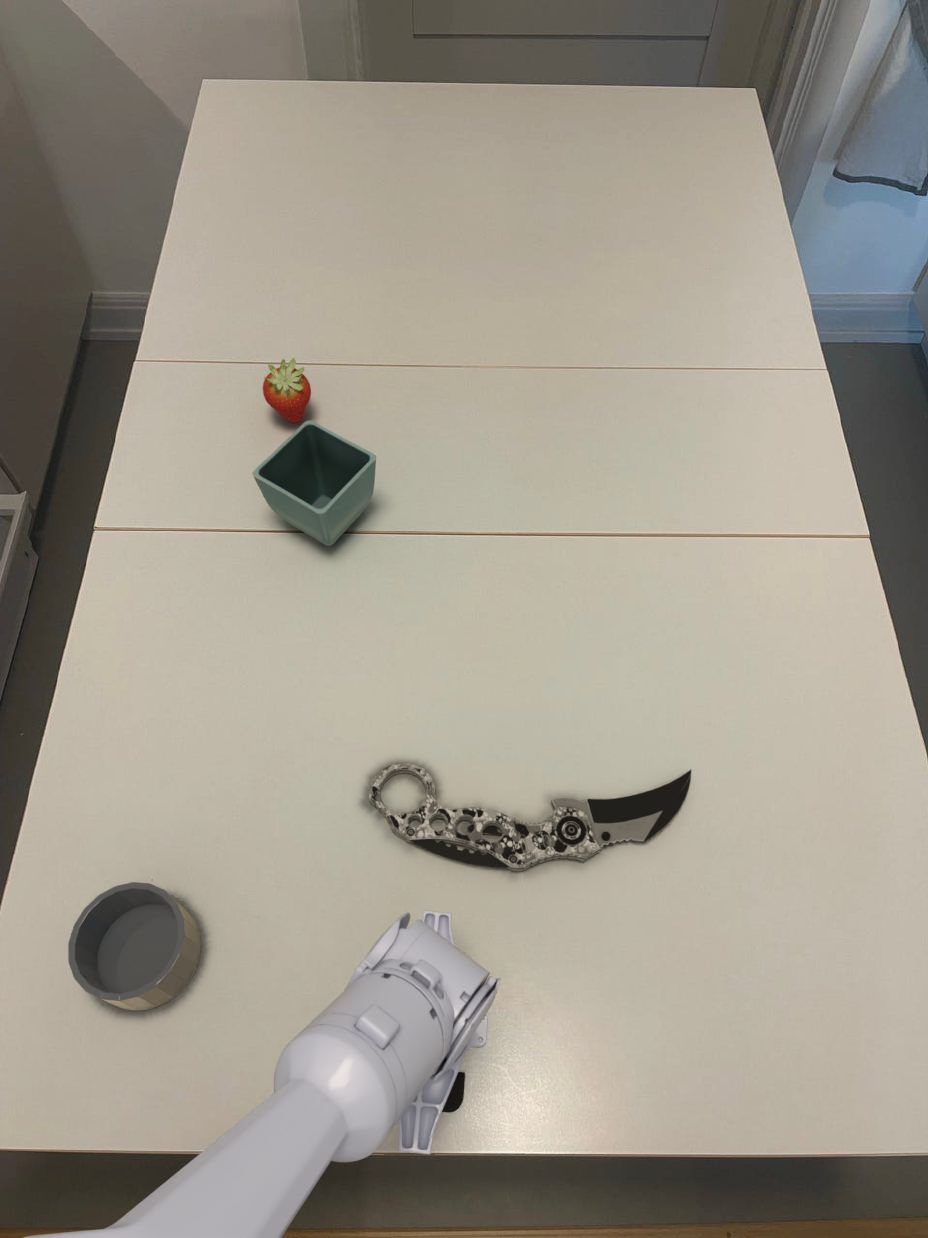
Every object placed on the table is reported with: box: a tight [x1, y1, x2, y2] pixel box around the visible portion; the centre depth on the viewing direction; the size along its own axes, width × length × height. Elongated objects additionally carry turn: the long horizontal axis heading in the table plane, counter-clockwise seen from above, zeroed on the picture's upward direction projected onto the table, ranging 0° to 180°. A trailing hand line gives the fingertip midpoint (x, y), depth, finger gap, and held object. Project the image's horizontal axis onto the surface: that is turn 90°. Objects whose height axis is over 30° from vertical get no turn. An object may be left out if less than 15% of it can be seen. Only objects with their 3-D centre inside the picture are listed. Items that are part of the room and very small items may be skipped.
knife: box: [368, 762, 692, 872], centre depth 76 cm, size 28×2×10 cm
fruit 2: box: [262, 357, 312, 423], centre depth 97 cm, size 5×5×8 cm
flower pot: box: [252, 420, 377, 547], centre depth 89 cm, size 9×9×9 cm
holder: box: [67, 881, 202, 1012], centre depth 68 cm, size 8×8×6 cm
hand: (428, 1039), depth 66 cm, fingers closed on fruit, 4 cm apart
